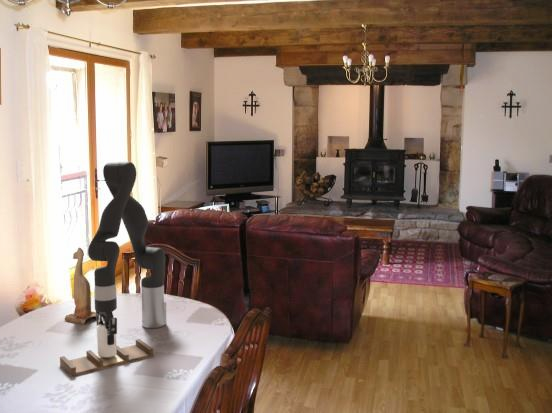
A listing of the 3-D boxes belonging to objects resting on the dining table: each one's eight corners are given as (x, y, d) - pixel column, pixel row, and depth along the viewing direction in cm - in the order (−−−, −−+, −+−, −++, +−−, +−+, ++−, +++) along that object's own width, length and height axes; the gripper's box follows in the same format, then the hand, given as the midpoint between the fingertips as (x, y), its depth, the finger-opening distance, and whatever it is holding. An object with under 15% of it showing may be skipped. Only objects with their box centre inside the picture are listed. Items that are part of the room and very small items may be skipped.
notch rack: (139, 346, 234) (139, 338, 234) (153, 356, 225) (153, 348, 224) (60, 365, 216) (59, 357, 216) (71, 376, 207) (71, 368, 206)
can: (99, 351, 223) (98, 319, 221) (118, 351, 224) (117, 319, 222) (96, 358, 217) (95, 325, 215) (114, 358, 217) (113, 325, 215)
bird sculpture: (82, 314, 272) (77, 243, 267) (103, 317, 267) (98, 245, 262) (64, 322, 262) (58, 248, 257) (85, 325, 257) (80, 250, 252)
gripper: (123, 299, 213) (125, 345, 216) (107, 290, 225) (109, 333, 227) (102, 303, 209) (104, 350, 211) (87, 293, 220) (89, 338, 223)
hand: (107, 341), depth 219 cm, fingers closed on can, 6 cm apart
